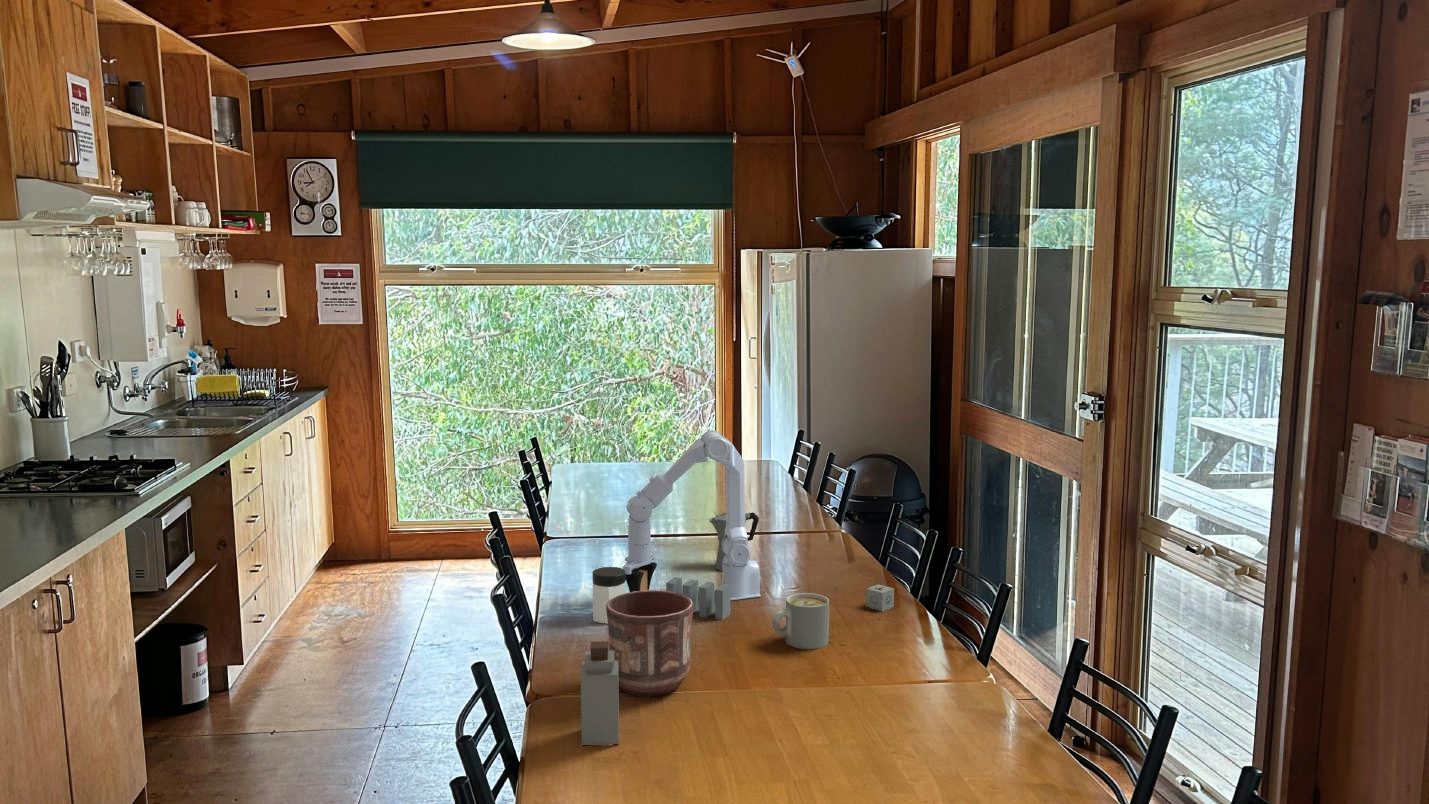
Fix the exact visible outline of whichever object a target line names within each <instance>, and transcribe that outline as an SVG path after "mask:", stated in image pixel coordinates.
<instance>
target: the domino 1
mask: <svg viewBox="0 0 1429 804" xmlns="http://www.w3.org/2000/svg"><path fill="white" fill-rule="evenodd" d="M639 572H644V575H643V577H642V580H641V585H640V591H645V590H648V571H647V570H639Z"/></svg>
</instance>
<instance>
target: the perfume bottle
mask: <svg viewBox="0 0 1429 804" xmlns="http://www.w3.org/2000/svg"><path fill="white" fill-rule="evenodd" d="M584 651H585V652H584V653H585V654H584V661H581V668H580V669H581V670H580V706H581V707H580V714H581V715H580V716H581V718H580V719H581V721H580V723H581V727H580V728H581V746H582V745H603V746H610V745H609V744H619V745H620V699H619V697H620V696H619V695H620V694H619V693H620V692H619V689H620V686H619V677H618V660H616V661H614V652H615V650H613V651H609V640H607V641H606V640H603V641H601V640H600V641H599V640H598V641H590V650H584Z"/></svg>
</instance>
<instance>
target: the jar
mask: <svg viewBox="0 0 1429 804" xmlns="http://www.w3.org/2000/svg"><path fill="white" fill-rule="evenodd" d="M625 593H626V572H625V570H624V569H623V567H622V568H621V567H619V566H603V567H598V568H595V569H593V571H592V621H593V622H595V623H599V624H604V623H605V624H604V625H608V620H607V612H606V604H607V603H608V601H609V600H610V599H612V598H614V597H616V596H619V595H622V594H625Z"/></svg>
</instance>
